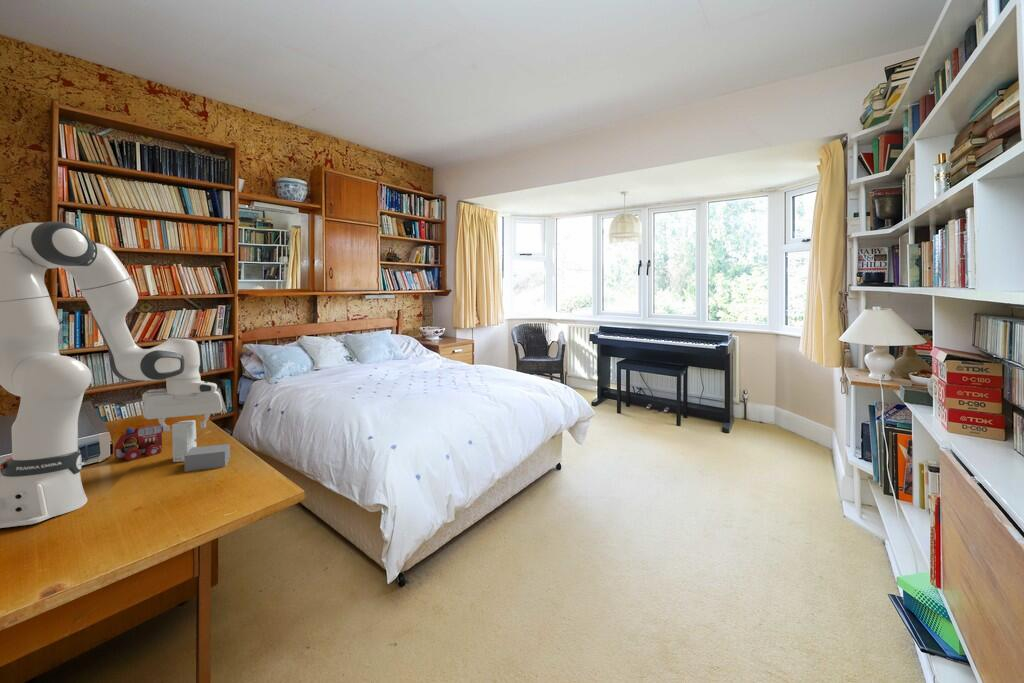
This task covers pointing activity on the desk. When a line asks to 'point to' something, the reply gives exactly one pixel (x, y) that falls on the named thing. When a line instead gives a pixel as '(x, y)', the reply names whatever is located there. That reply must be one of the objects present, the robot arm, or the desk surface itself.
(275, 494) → the desk surface
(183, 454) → the skincare box
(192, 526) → the desk surface
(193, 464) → the gray riser
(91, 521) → the desk surface
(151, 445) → the toy fire truck
